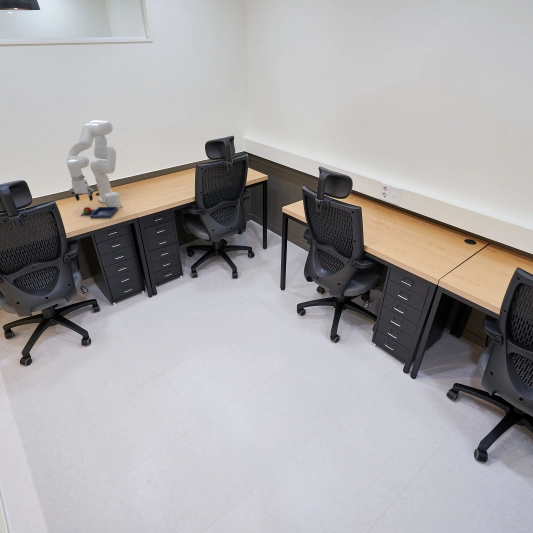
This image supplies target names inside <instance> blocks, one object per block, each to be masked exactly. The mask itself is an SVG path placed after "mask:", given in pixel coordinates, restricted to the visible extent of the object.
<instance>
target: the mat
mask: <svg viewBox="0 0 533 533" xmlns="http://www.w3.org/2000/svg"><path fill="white" fill-rule="evenodd" d="M95 210H96V209H91V212H90V213H89V214H86V213H84V212H83V213H82V214H81V215H80V216H81V217H90V215H91V214H92V213H93V212H94V211H95Z"/></svg>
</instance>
